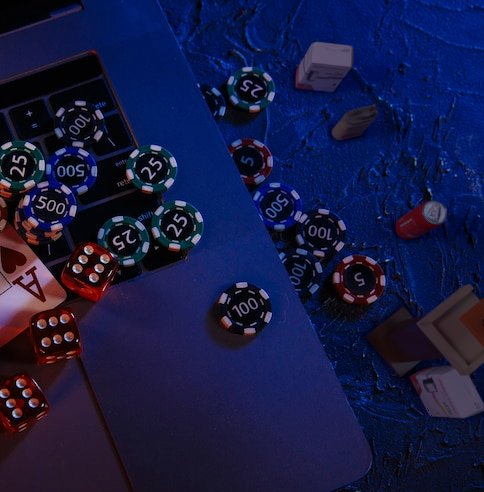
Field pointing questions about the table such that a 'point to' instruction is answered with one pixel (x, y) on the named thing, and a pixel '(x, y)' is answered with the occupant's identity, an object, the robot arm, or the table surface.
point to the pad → (475, 321)
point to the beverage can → (421, 220)
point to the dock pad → (454, 331)
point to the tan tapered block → (354, 122)
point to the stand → (402, 342)
